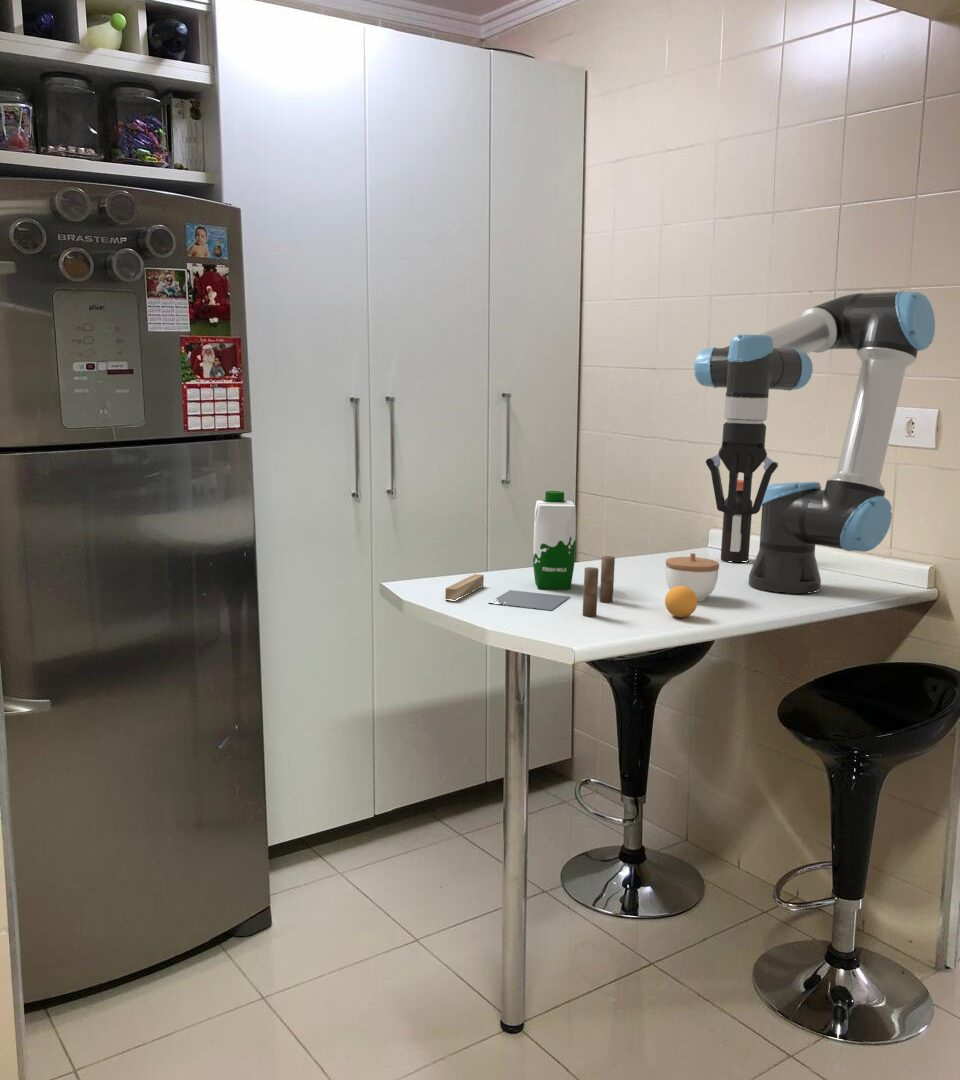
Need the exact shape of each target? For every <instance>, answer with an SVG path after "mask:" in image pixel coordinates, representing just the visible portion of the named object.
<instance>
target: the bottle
mask: <svg viewBox="0 0 960 1080" xmlns="http://www.w3.org/2000/svg"><path fill="white" fill-rule="evenodd" d="M743 483H744V479H738V480H737V493H736V506H735V510H736V511H735V515H741V510H742V497H743ZM724 500H725V505H727V502H728V496H727V497H726V498H724ZM753 505H754V503H753V500H752V499H750V507H753ZM752 515H753V514H752ZM752 515H750V516H749V522H748V531H747V533H746V534H743V533H742V534H741V547H740V551H739V552H733V551H730V547H731V534H732V533H731V532H726V520H727V515H726V514H725V513H724V512H723V515H722V518H723V520H722V534H721V549H720V560H721V561H722V560H724V561H723V562H725V561H732V562H742V561H747V560H748V561H749V560H750V558H749V557H750V545H751V543H750V542H751V530H752Z"/></svg>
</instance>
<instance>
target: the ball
mask: <svg viewBox="0 0 960 1080" xmlns="http://www.w3.org/2000/svg"><path fill="white" fill-rule="evenodd" d="M664 604H665V607H666V609H667V612H669V613H670V615H672V616H674V617H676V618H686V617H689V616H690V615H692V614H693V613H694V612H695V610H696V609H697V605H698V602H697V597H696V595H695V593H694V592H693V591H692V590H691V589H690V588H688V587H686V586H676V587H674V588H672V589H671V590H670V589H669V590H668V592H667V593H666V594H665V599H664Z"/></svg>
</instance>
